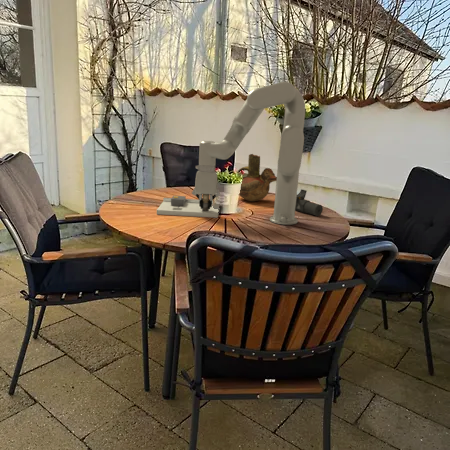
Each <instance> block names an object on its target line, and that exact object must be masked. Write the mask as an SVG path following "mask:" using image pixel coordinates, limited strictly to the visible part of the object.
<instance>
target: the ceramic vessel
mask: <svg viewBox="0 0 450 450" xmlns="http://www.w3.org/2000/svg"><path fill="white" fill-rule="evenodd" d="M247 162H248V165H247V166H243V167H241V168H239V169H238V170H237V172H240V171H241V170H243V172H244V171H247V175H245V176H242V177H243V181H242V184H241V190H240V195H239V196H240V197H241V198H242V199H244V200H245V201H247V202H257V201H258V202H259V201H260V200H263V199H265V198H266V197H267V195H268V194H269V192H270V188H271V187H270V184H271V183H273V182H276V181H277V175H276V174H275V173H274V171H273V170H272V168H270V167H269V168H268V167H267V168H264V169H263V170H262V172H261V171H260V170H261V169H260V168H261V156H260V155H257V154H253V153H250V154H248V161H247ZM260 172H261V174H260Z"/></svg>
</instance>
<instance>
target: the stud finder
mask: <svg viewBox="0 0 450 450" xmlns="http://www.w3.org/2000/svg"><path fill="white" fill-rule="evenodd" d="M170 198H171V205H176V206H184V204H185V201H186V199H187V198H186V196H184V195H173V196H172V197H170Z"/></svg>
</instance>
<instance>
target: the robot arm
mask: <svg viewBox="0 0 450 450" xmlns="http://www.w3.org/2000/svg"><path fill="white" fill-rule="evenodd" d="M282 105H283V107H284V116H283V117H284V122H283V126H282V132H281V134H280V135H281V136H280V140H279V141H280V142H279V151H278V158H277V159H278V160H277V170H276V177H277V181H275V182H276V183H275V195H274V196H275V197H274V205H273V215H272V216H270V217H269V221H270V222H271V223H273V224H274V223H275V224H279V225H283V226H284V225H286V226H292V225H296V224H297V223H298V221H299V220H298V218H297V217H295V216H296V215H295V214H296V210H295V207H296V197H297V195H298V188H299V176H300V169H301V164H302V160H303V159H302V158H303V151H304V144H305V133H304V126H305V117H306V104H305V98H304V97H303V95H302V93H301V92H300V91H299V90H298V89H297V88H296V87H295V86H294V85H293V83H291V82H289V81H281V82H277V83H274V84H269V85H265V86H262V87H257V88H254V89H251V90H249V93H248V94H247V97H246V100H245V101H244V103H243V105H241V107H240V109H239V111H238V112H237V113H236V114H235V116H234V117H233V119H232V124H231V126H230V128H229V130H228V132H227V133H226V135H225V136H224V138H222V141H221V142H216V141H212V140H201V141H200V142H199V149H198V151H199V152H198V153H199V154H198V165H195V169H197V171H196V173H195V181H194V183H195V184H194V188H193V190H192V192H191V194H192V195H193V196H196V198H197V200H200V201H199V207H201V209H202V204H203V194H209V207H208V209H210V207H212V200H214V199H216V198H217V197H219V196H221V192H220V190H219V188H218V172H217V171H216V164H217V163H216V159H217V160H228V159H229V158H230V157H231V156H233V155H234V154H235V152H236V151H237V149H238V148H239V146H240V145H241V143H242V142H243V140H244V139H245V137H246V135H247V134H248V133H249V132H250V131H251V129H252V128H253V126H254V125H255V123H256V121H257V120H258V119H259V117H260V115H261V114H262V113H263V111H264V110H265V109H269V108H274V107H276V106H282Z"/></svg>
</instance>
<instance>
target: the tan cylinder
mask: <svg viewBox="0 0 450 450" xmlns="http://www.w3.org/2000/svg"><path fill="white" fill-rule="evenodd" d="M202 199H203V204H202V211H209V209H208V207H209V199H210V195H209V194H202Z"/></svg>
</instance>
